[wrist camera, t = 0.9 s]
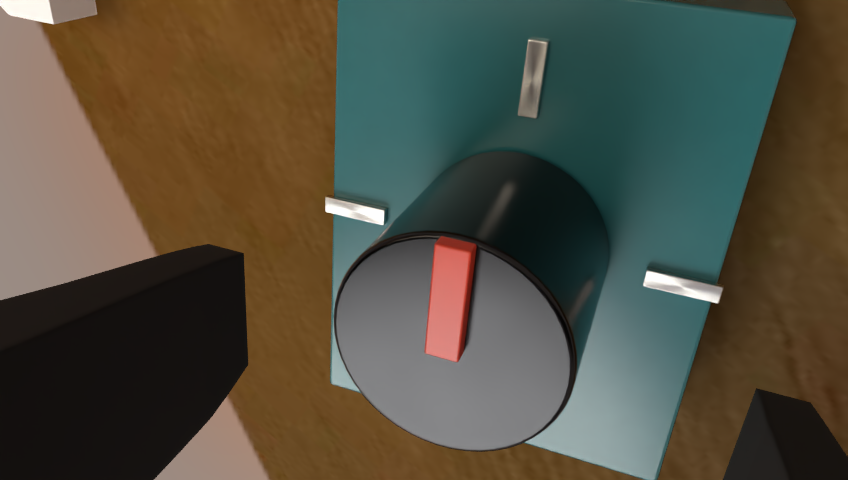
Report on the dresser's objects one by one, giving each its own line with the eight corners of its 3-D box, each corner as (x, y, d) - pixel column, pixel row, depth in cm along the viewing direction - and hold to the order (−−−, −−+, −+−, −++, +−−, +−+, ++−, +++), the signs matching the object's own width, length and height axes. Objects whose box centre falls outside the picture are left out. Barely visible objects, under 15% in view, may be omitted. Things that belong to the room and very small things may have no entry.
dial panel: (668, 404, 18) (660, 491, 16) (373, 323, 21) (322, 387, 18) (789, -5, 14) (806, 20, 11) (392, -52, 16) (328, -41, 13)
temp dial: (589, 350, 15) (548, 497, 11) (410, 304, 16) (321, 423, 12) (629, 172, 13) (595, 278, 10) (424, 132, 14) (324, 214, 11)
